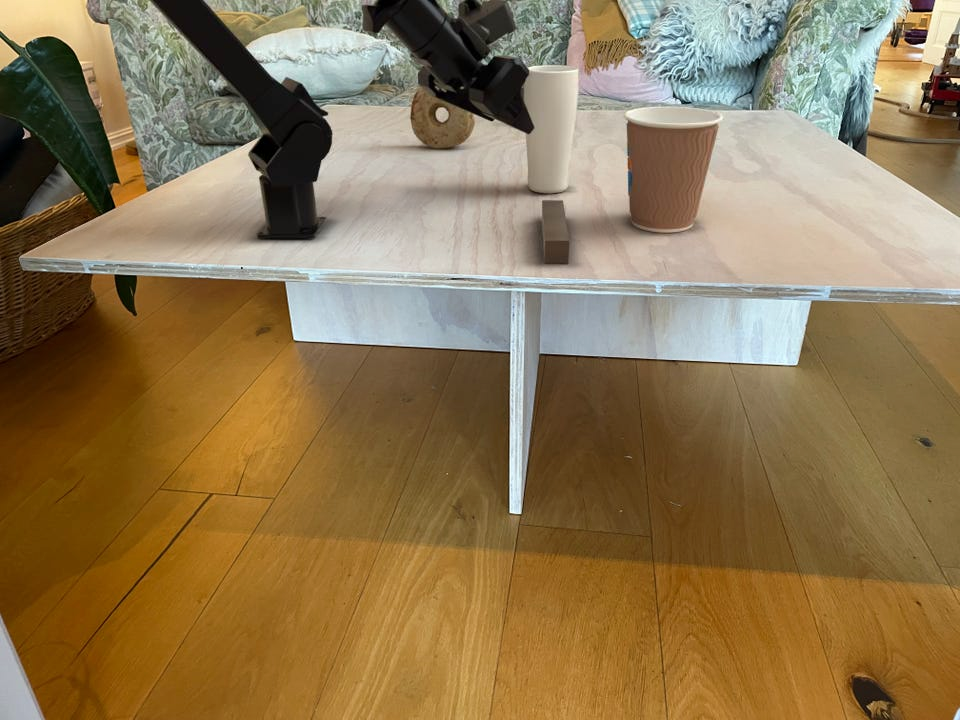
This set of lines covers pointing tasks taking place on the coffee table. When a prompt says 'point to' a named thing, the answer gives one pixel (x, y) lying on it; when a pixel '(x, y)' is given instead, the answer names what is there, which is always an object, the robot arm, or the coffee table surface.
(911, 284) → the coffee table surface
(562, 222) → the baton
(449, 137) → the bagel
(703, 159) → the coffee cup
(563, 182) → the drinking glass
